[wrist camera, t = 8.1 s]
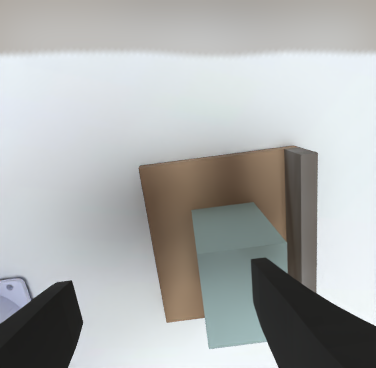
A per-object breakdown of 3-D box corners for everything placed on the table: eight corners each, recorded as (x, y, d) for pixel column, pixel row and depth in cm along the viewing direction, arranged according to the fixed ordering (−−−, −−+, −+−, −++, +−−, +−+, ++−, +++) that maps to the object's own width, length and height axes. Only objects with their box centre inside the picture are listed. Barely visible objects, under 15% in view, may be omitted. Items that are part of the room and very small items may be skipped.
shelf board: (167, 315, 22) (165, 349, 19) (140, 165, 18) (132, 176, 15) (298, 298, 22) (318, 329, 19) (296, 145, 18) (320, 152, 15)
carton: (200, 281, 20) (208, 349, 14) (191, 210, 19) (196, 254, 13) (259, 273, 20) (291, 338, 14) (255, 201, 19) (289, 242, 13)
